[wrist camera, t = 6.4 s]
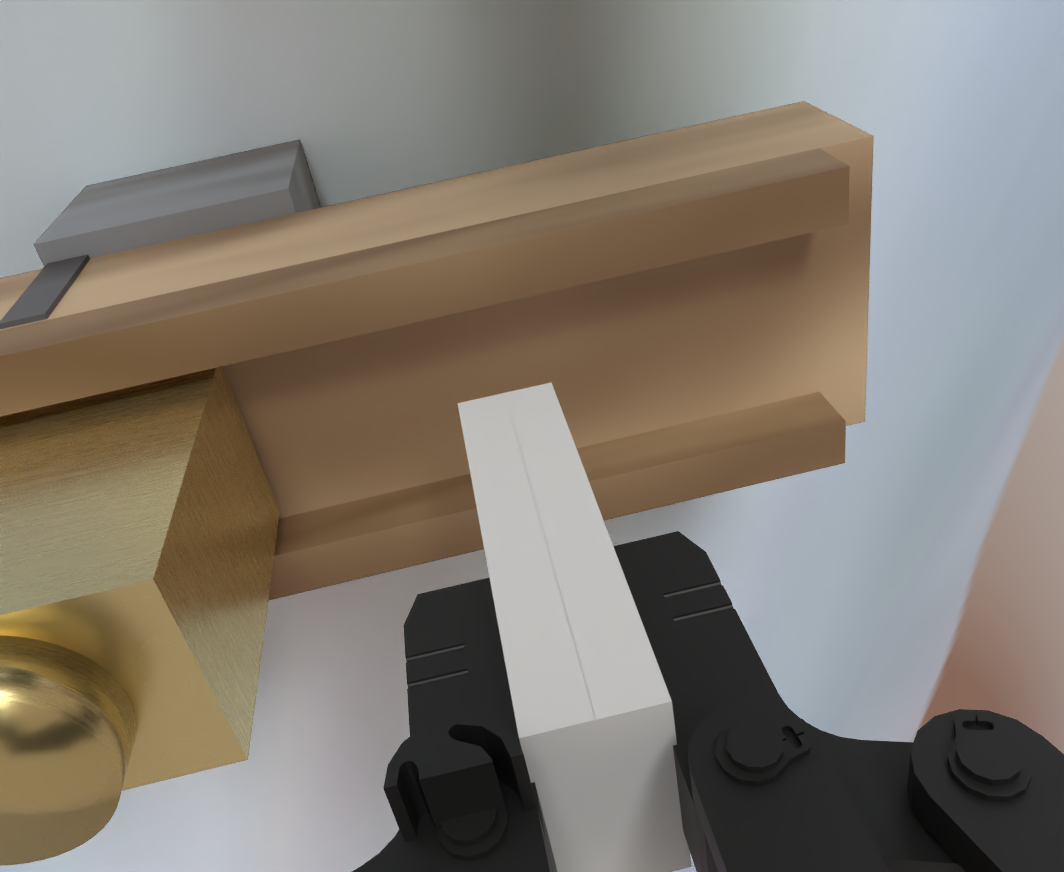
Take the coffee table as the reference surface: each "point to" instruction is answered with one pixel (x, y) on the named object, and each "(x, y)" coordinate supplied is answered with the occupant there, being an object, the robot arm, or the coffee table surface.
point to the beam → (476, 321)
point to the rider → (125, 601)
